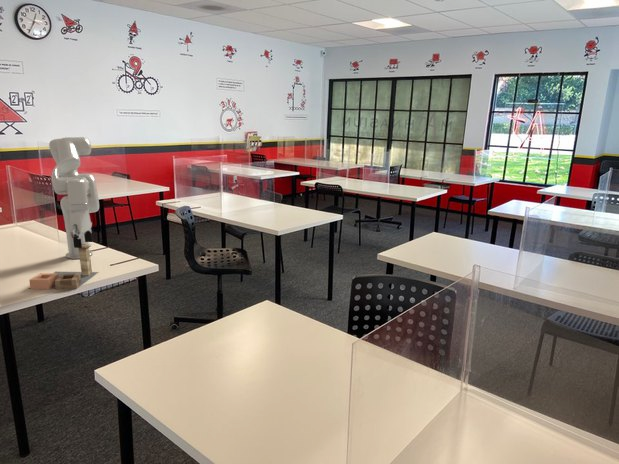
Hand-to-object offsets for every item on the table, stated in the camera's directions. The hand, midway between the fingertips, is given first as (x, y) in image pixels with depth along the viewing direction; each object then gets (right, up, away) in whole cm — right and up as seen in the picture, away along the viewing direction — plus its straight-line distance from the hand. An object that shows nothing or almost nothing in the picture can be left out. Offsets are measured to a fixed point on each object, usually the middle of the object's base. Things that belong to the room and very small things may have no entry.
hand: (83, 244), depth 201 cm
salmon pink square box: (-12, -17, -9) cm, 23 cm away
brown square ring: (-2, -17, -9) cm, 20 cm away
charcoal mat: (-7, -16, -3) cm, 17 cm away
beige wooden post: (-1, -14, +4) cm, 14 cm away
